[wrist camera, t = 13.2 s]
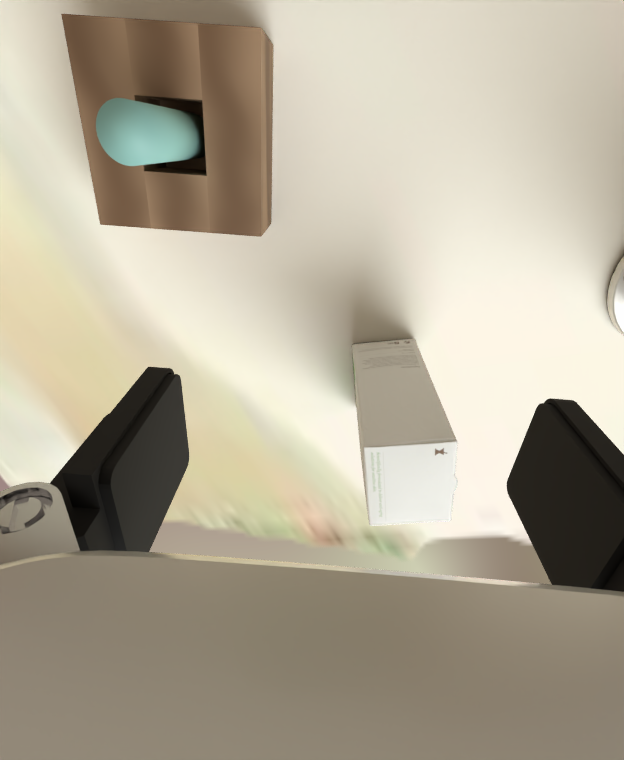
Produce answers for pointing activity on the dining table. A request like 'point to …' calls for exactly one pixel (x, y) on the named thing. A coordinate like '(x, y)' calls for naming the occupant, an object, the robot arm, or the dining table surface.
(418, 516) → the skincare box
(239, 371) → the dining table surface
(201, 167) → the socket block
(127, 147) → the peg
